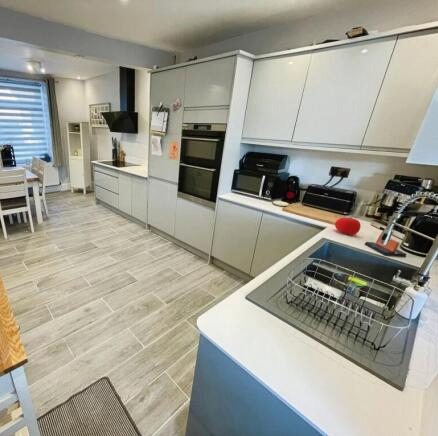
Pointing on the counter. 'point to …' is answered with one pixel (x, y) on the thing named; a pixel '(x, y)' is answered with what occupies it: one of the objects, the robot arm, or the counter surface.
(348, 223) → the tomato
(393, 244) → the orange rectangular block
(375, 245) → the dark grey square plate
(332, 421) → the counter surface
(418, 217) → the robot arm
